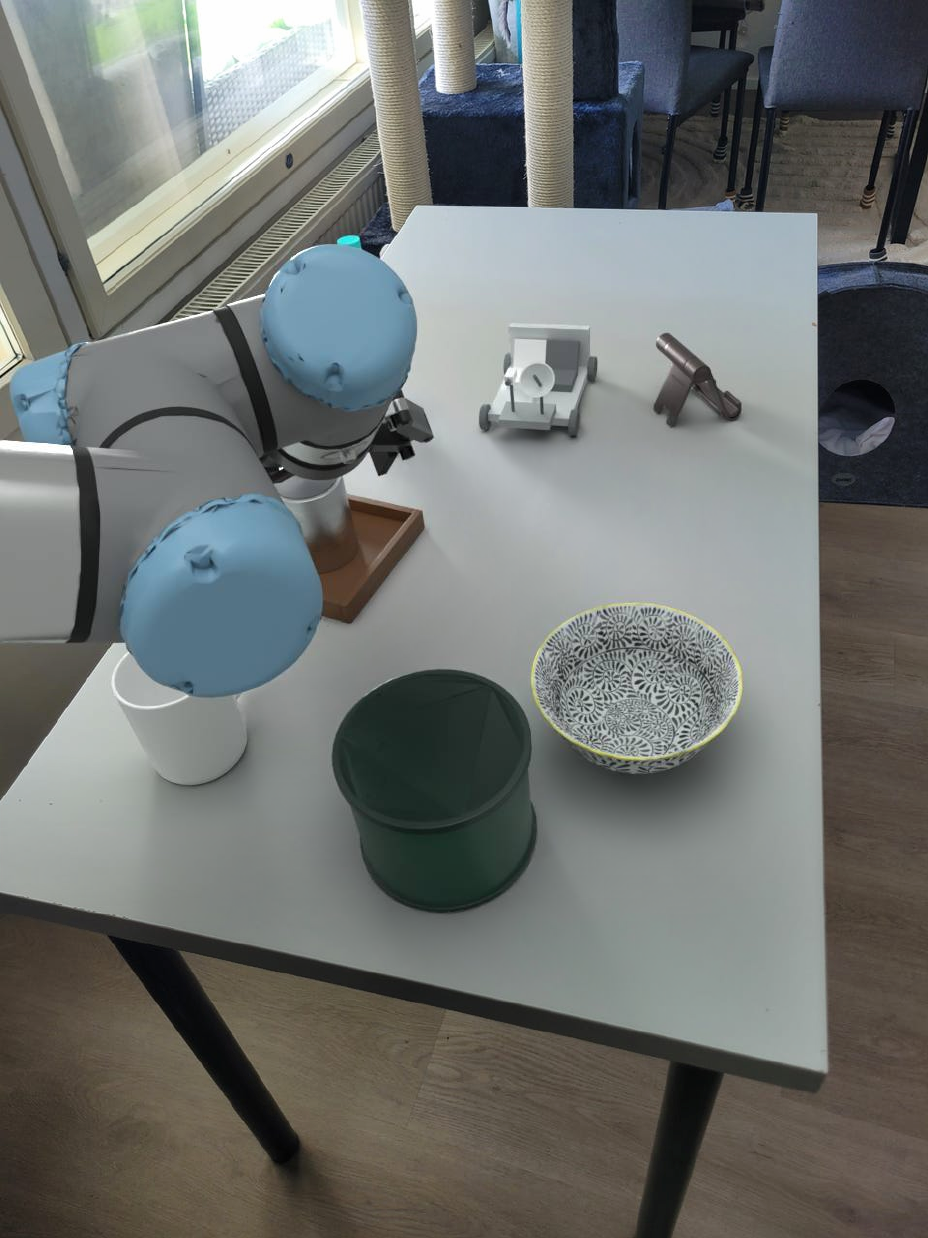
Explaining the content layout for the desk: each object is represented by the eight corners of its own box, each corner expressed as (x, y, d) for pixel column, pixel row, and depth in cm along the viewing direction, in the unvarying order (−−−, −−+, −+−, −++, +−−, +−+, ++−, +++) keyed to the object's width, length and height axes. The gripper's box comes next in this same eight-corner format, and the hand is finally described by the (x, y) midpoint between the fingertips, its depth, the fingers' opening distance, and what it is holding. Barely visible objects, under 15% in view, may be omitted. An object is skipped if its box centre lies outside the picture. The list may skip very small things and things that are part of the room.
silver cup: (276, 564, 95) (254, 493, 89) (314, 523, 100) (295, 452, 93) (335, 580, 92) (316, 508, 86) (371, 537, 97) (355, 465, 91)
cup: (133, 765, 79) (88, 686, 72) (227, 672, 86) (194, 591, 79) (204, 803, 75) (163, 723, 68) (296, 702, 82) (268, 621, 75)
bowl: (724, 834, 68) (734, 774, 63) (515, 798, 73) (509, 738, 67) (739, 677, 79) (749, 614, 74) (556, 653, 83) (554, 591, 78)
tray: (221, 587, 95) (215, 570, 93) (303, 499, 104) (299, 482, 103) (350, 623, 89) (346, 606, 87) (425, 527, 98) (422, 510, 97)
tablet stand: (741, 419, 107) (749, 353, 101) (680, 437, 106) (685, 371, 100) (702, 385, 113) (708, 320, 107) (644, 401, 112) (647, 337, 106)
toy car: (570, 376, 99) (466, 371, 102) (571, 453, 106) (474, 446, 109) (597, 299, 111) (504, 297, 114) (597, 373, 118) (509, 369, 121)
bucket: (326, 875, 69) (292, 788, 62) (412, 739, 78) (392, 649, 70) (492, 943, 64) (478, 858, 57) (565, 790, 73) (561, 698, 65)
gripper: (146, 529, 55) (174, 574, 76) (519, 407, 61) (451, 480, 82) (101, 411, 55) (141, 489, 76) (479, 301, 61) (421, 401, 82)
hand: (302, 484), depth 79 cm, fingers open, 13 cm apart
